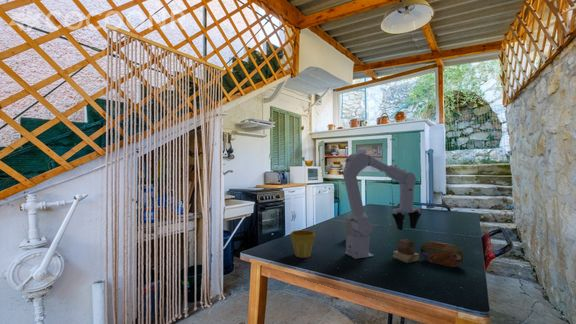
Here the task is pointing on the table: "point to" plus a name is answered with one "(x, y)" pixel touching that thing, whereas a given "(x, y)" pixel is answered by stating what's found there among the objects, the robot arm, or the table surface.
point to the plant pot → (302, 242)
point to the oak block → (406, 257)
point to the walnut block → (406, 246)
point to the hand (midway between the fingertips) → (406, 228)
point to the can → (347, 227)
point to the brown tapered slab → (442, 253)
